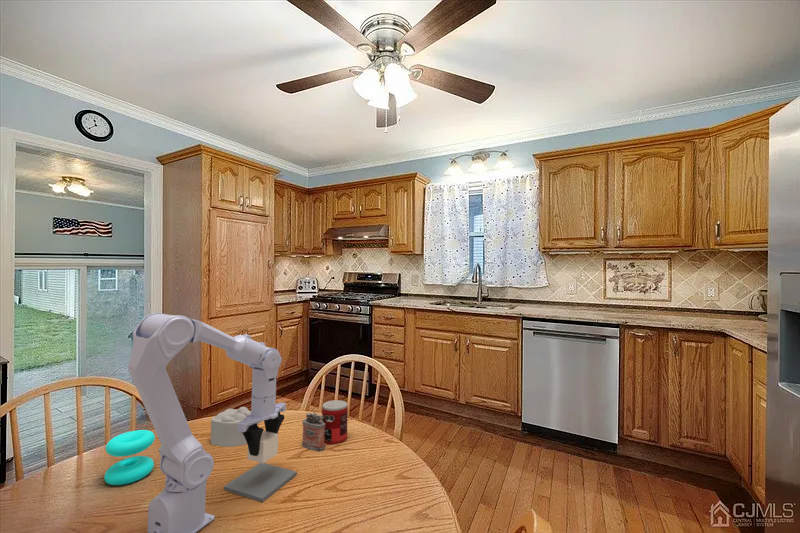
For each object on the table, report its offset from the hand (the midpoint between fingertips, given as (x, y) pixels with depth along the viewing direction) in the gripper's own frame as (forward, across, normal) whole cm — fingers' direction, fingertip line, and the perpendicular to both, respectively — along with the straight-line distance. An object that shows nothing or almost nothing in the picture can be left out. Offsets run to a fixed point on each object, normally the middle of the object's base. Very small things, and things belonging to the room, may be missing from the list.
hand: (262, 449), depth 86 cm
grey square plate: (+8, 0, 0) cm, 8 cm away
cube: (+2, 0, 0) cm, 2 cm away
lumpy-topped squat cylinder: (+8, +15, +25) cm, 30 cm away
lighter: (+8, +20, -1) cm, 22 cm away
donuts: (+8, -11, +33) cm, 36 cm away
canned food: (+8, +27, -4) cm, 28 cm away
